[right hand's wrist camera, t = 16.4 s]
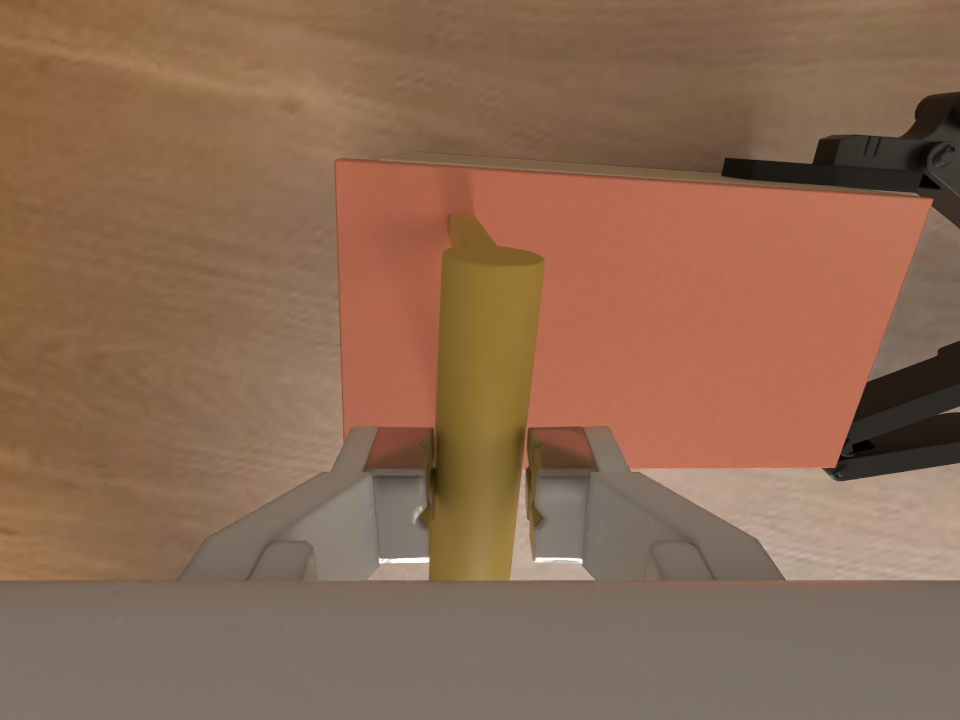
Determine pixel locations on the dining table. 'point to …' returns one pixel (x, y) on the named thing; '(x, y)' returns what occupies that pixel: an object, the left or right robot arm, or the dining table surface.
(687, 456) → the lid
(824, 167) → the left robot arm
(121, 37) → the dining table surface
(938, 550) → the dining table surface
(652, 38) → the dining table surface
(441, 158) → the chest
